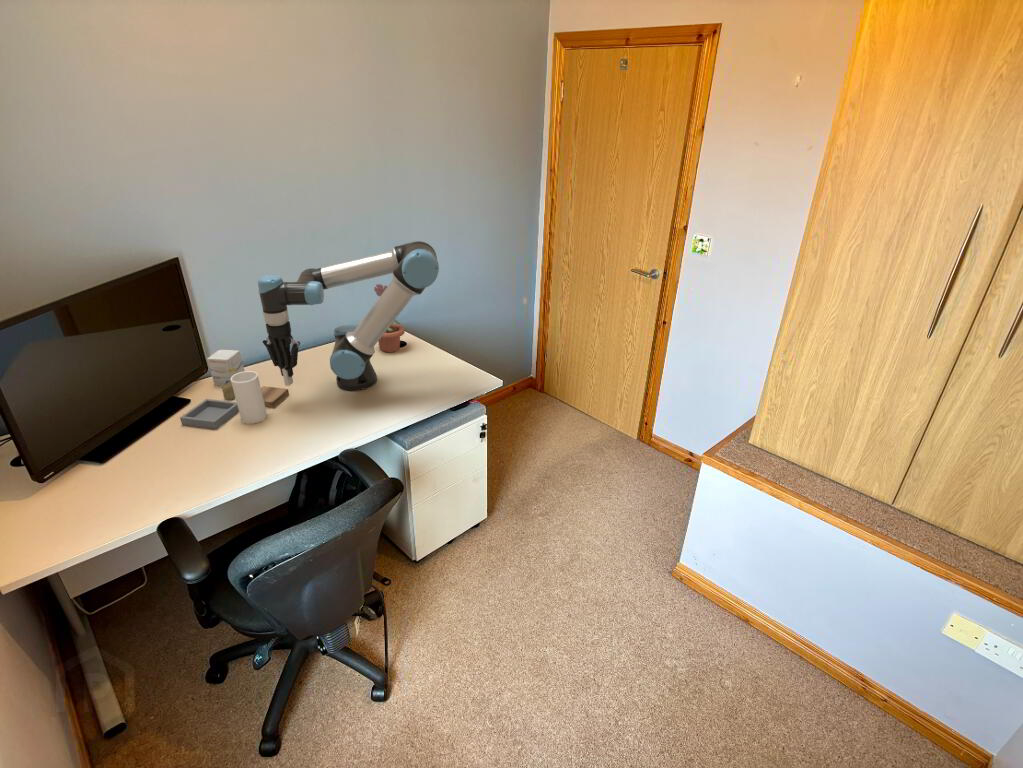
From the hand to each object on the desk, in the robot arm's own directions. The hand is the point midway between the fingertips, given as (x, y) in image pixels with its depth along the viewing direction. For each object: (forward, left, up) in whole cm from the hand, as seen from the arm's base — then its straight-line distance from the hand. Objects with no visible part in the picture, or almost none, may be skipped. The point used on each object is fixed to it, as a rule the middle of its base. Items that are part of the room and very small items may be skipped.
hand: (289, 384), depth 192 cm
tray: (+22, +15, -8) cm, 27 cm away
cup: (+8, +12, -8) cm, 16 cm away
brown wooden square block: (+10, 0, -8) cm, 13 cm away
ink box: (+33, -10, -8) cm, 35 cm away
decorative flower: (-16, -52, -8) cm, 55 cm away
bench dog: (+24, 0, -8) cm, 25 cm away
